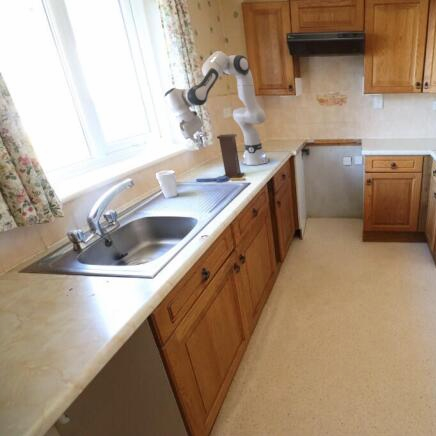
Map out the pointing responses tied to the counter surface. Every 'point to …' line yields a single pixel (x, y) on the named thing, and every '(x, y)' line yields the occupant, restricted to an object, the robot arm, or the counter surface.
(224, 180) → the spoon
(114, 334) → the counter surface
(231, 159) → the spoon stand
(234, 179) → the fry
